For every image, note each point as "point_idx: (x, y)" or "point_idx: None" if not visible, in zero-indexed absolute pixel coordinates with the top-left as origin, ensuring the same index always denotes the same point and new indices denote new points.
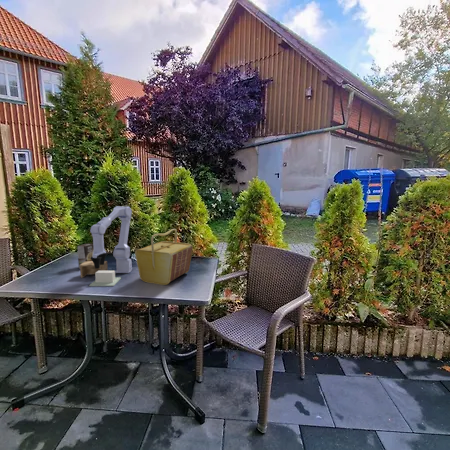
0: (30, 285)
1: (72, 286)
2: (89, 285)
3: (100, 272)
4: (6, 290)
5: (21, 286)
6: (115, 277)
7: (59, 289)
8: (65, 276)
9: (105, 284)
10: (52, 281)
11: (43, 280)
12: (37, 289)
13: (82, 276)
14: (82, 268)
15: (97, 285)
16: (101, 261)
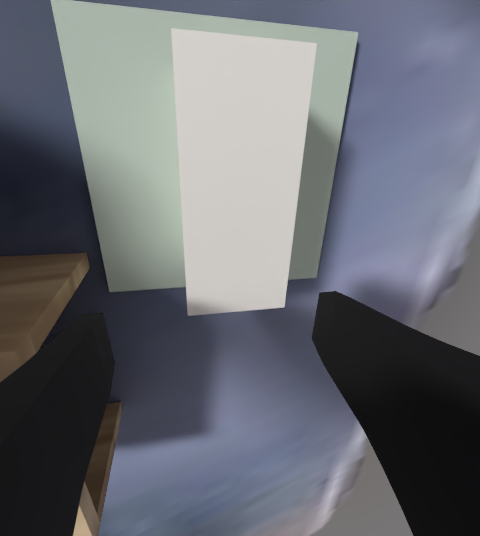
0: (264, 513)
1: (300, 367)
2: (315, 274)
3: (277, 253)
4: (312, 530)
5: (273, 526)
6: (73, 97)
7: (338, 398)
8: (112, 487)
9: (317, 142)
10: (208, 485)
11: (194, 518)
12: (319, 468)
13: (115, 410)
14: (88, 483)
15: (327, 212)
16: (87, 400)
